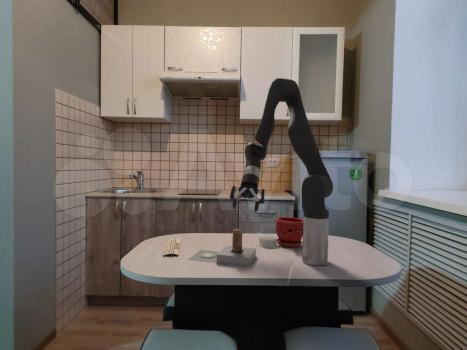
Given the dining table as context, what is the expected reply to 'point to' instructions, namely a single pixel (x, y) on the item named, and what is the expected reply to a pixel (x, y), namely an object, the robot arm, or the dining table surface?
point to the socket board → (226, 256)
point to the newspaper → (172, 246)
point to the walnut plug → (237, 241)
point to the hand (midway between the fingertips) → (244, 209)
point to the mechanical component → (268, 242)
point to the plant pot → (289, 231)
